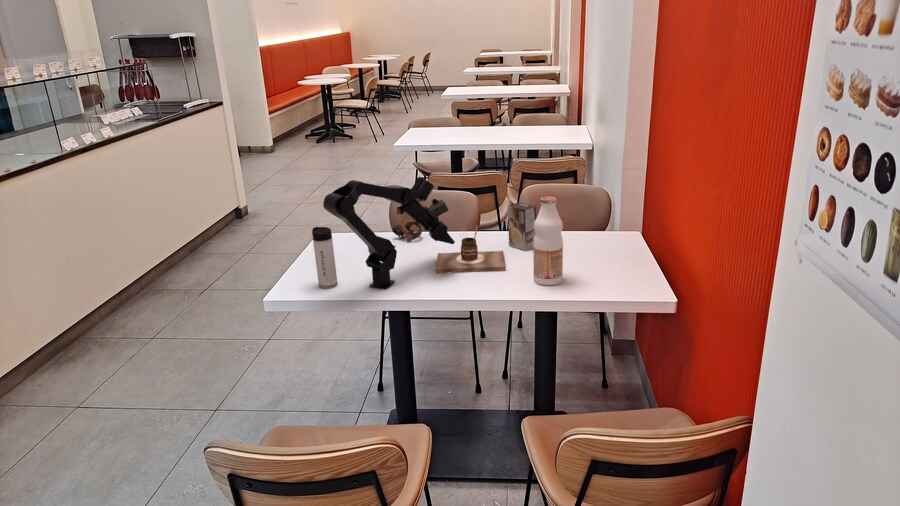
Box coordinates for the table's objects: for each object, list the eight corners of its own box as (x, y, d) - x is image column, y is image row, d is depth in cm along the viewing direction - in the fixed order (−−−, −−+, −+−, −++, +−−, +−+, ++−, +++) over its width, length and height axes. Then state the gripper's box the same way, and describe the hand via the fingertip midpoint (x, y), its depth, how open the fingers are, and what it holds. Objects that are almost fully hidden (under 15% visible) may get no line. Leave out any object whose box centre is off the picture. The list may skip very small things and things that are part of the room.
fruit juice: (531, 285, 206) (531, 201, 196) (535, 274, 214) (535, 194, 205) (560, 287, 203) (562, 202, 194) (563, 276, 212) (565, 194, 202)
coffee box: (537, 247, 240) (537, 206, 234) (525, 251, 236) (525, 209, 230) (519, 241, 246) (518, 201, 241) (507, 246, 242) (507, 205, 237)
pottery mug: (420, 234, 262) (423, 220, 256) (418, 251, 255) (422, 237, 250) (391, 229, 260) (394, 215, 254) (389, 246, 254) (392, 231, 248)
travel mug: (328, 279, 218) (321, 224, 212) (341, 283, 214) (335, 227, 207) (314, 285, 214) (307, 229, 207) (327, 290, 210) (320, 232, 203)
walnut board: (503, 254, 234) (503, 249, 233) (505, 270, 218) (505, 265, 218) (438, 256, 235) (437, 251, 234) (435, 273, 220) (435, 267, 219)
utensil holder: (460, 255, 228) (459, 224, 224) (477, 254, 228) (476, 223, 224) (461, 261, 223) (460, 229, 219) (479, 260, 223) (478, 228, 219)
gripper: (439, 200, 206) (473, 229, 212) (426, 187, 223) (458, 214, 229) (417, 226, 207) (451, 254, 213) (406, 211, 224) (438, 237, 230)
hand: (450, 239), depth 221 cm, fingers open, 9 cm apart
